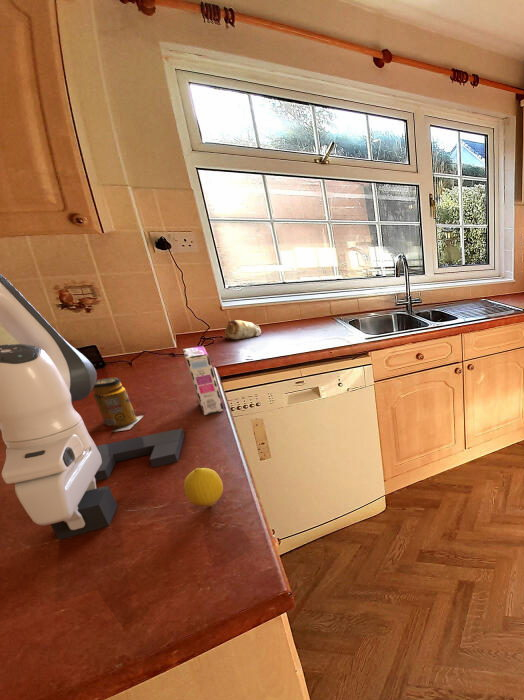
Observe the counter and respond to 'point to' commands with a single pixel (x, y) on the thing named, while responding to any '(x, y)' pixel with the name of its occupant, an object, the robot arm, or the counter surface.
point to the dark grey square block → (90, 512)
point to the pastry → (241, 330)
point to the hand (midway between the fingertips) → (86, 513)
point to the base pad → (141, 450)
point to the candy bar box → (203, 380)
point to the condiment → (114, 404)
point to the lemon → (203, 487)
